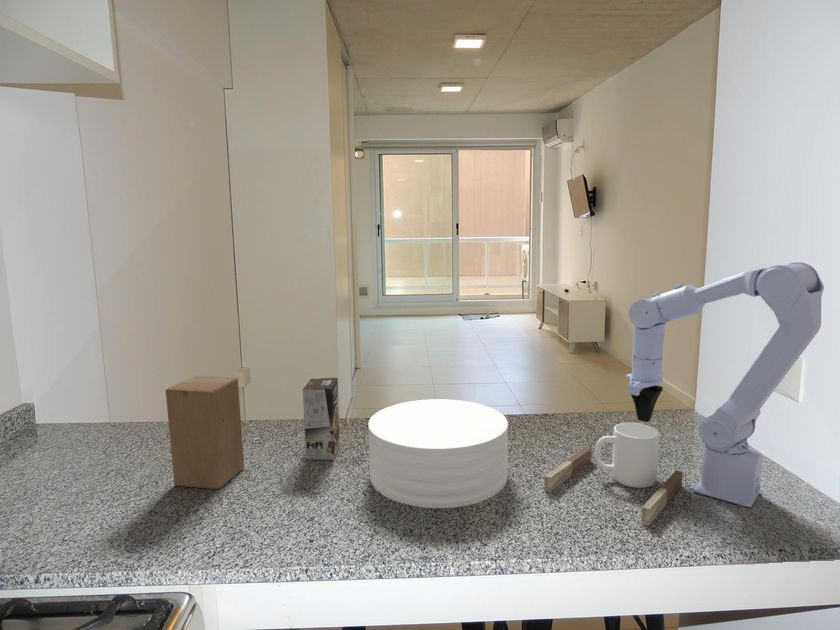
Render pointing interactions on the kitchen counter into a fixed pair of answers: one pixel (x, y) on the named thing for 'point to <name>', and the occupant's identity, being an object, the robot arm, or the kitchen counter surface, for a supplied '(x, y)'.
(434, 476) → the plate stack
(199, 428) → the wooden block
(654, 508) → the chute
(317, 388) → the coffee box
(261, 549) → the kitchen counter surface
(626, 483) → the cup
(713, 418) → the robot arm
